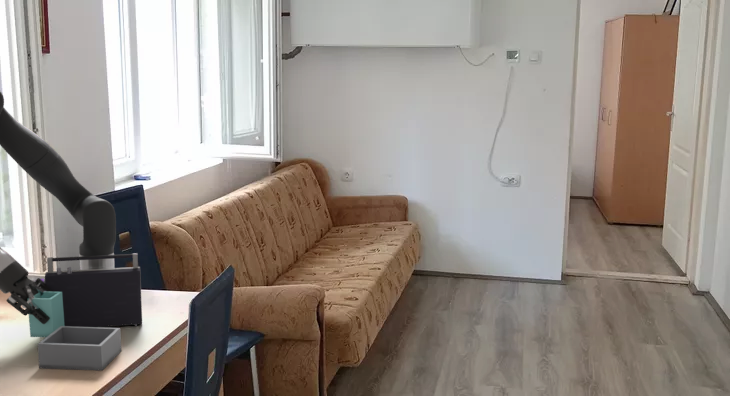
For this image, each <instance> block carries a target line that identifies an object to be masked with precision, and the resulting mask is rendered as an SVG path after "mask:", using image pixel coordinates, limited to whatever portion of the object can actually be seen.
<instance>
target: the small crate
mask: <svg viewBox="0 0 730 396" xmlns="http://www.w3.org/2000/svg"><path fill="white" fill-rule="evenodd" d="M40 294H41V293H40V292H38V293H37V294H36V295H34V297H35V298H34V299H33V302H34V303H35V304H36V305H37V306H38V309H39V308H40V309H41V310H42V311H43V312H44V313H45V314H47V315H48V316H49V317H50V319H49V320H48V321H47V322H46V323H45V324H42V323H41V322H40V321H39V320H38V319H37V318H35V317H34V316H33V315H30V314H28V323H29V324H28V325H29V334H30V338H46V337H47V336H49V335H50V334H51V333H52V332H54V331H55V330H56V329H58V328H59V327H60V326H64V312H63V298H62V292H50V291H44V294H43V295H42V296H41V295H40ZM27 300H29V298H28V299H27ZM29 305H31V303H30V304H29ZM31 306H32V305H31Z"/></svg>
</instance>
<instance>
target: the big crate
mask: <svg viewBox="0 0 730 396" xmlns="http://www.w3.org/2000/svg"><path fill="white" fill-rule="evenodd" d="M121 333H122V332H121V328H120V327H73V326H60V327H59V328H58V329H56V330H55V331H54V332H52V333H51V334H50V335H49V336H47V337H44V338H43V339H42V340H40V341H39V342H38V343H37V353H38V369H51V370H53V369H55V370H77V371H78V370H79V371H80V370H81V371H103V370H104V369H105V368H106V367H107V366H109V364H110V363H111V362H112V361H113V360H114V359H115V358H116V357H117V356H118V355H119V354H120V353H121V352H122V344H121V343H122V341H121V340H122V339H121V338H122V335H121Z"/></svg>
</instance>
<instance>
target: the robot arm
mask: <svg viewBox="0 0 730 396" xmlns="http://www.w3.org/2000/svg"><path fill="white" fill-rule="evenodd" d="M4 105H5V99H4V95H3V93H2V91H1V90H0V147H1V148H2V149H3V150H4V151H5V152H6V153H7V154H8V155H9V157H11V158H12V160H13V161H15V162H16V163H17V165H18V166H19V167H20V168H21V169H22V170H23V171H24V172H26V174H28V176H29V177H30V178H32V179H33V180H34V181H35V182H36V183H38V185H39V186H41V187H42V188H44V189H45V190H46V191H47V192H48V193H49V194H51V195H52V196H53V197H55V198H56V199H57V200H58V201H59V203H61V204H62V206H64V208H65V209H66V211H68V213H69V214H70V215H71V217H72V218H73V219H74V220H75V221H76V223H78V224H79V225H80V226H82V228H83V229H82V231H83V232H82V233H83V236H82V237H83V239H82V242H81V243H79V247H78V251H79V254H78V255H79V257H81V256H101V255H115V253H114V252H115V249H114V248H115V244H116V239H117V218H116V216H117V215H116V211H115V207H114V206H113V204H112V203H111V202H109V201H108V200H106V199H103V198H101V197H98V196H96V195H94V194H93V193H92V192H91V191H89V190H88V189H87V188H86V187H85V186H84V185H83V184H81V183H80V182H79V181H78V179H76V177H75V176H74V175H73V173H72V171H71V169H70V167H69V166H68V164H67V163H66V161H65V160H64V159H63V157H61V155H60V154H59V152H57V151H56V150H55V149H54V148H53V147H52V146H51V145H50V143H48V142H47V141H46V140H45V139H43V138H42V137H40V136H39V135H38V134H37V133H36V132H34V131H33V130H31V129H30V128H28V127H27V126H25V125H24V124H22V123H21V122H19V121H18V120H17V119H16V118H15V117H14V116H13V115H12V114H11V113H9V111H8V110H7V109H6V108H5V107H4ZM108 268H115V258H113V259H93V260H79V270H89V269H108ZM28 276H29V271H28V270H27V269H26V268H25V267H24V266H23V265H22V264H21V263H19V261H17V259H16V258H14V257H13V256H12V255H11V254H10V253H8V252H7V251H6V250H4V249H3V248H2V247H1V246H0V291H1V292H2V293H3V294H6V295H7V294H9V293H10V295H9V296H8V298H7V299H6V300H5V301H6V302H7V304H9V305H10V306H12V307H13V308H14V309H16V310H17V311H18V312H19V313H20V314H22V315H24V316H25V317H26V316H27V315H29V314H30V315H33V316H34V317H35V318H37V319H38V320H39V321H40V322H41V323H42V324H45V323H46V322H47V321H48V320H49V319H50V317H49V316H48V315H47V314H45V313H44V312H43V311H42V310H41V309H40V308H39V309H38V306H37V305H36V304H35V303H34V302H33V299H34V298H35V297H34V295H36V294H37V293H38V292H40V293H41V294H40V295H41V296H42V295H43V294H44V291H50V292H52V291H51V290H50V289H49V288H48V287H47V285H46V284H45V283H44V282H43V281H42V280H41V279H42V278H40V277H37V279H35V280H32V279H30V278H28ZM28 298H29V300H27V299H28ZM30 303H31V305H32V306H31V305H29V304H30Z"/></svg>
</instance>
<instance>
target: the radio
mask: <svg viewBox="0 0 730 396" xmlns="http://www.w3.org/2000/svg"><path fill="white" fill-rule="evenodd" d="M138 257H139V256H138V252H136V253H135V252H134V253H128V254H127V253H126V254H125V253H124V254H123V253H122V254H114V255H101V256H81V257H80V256H65V257H64V256H63V257H51V256H50V257H47V258H46V263H47V264H46V265H47V271H46V272H45V274H44V278H43V279H44V281H43V282H44V283H45V284H46V285H47V287H48V288H49V289H50V290H51V291H52V292H62V298H63V312H64V326H73V327H103V328H107V327H115V326H116V327H119V326H130V325H134V326H135V327H138V325H142V324H143V309H142V308H143V307H142V306H143V305H142V282H141V281H142V279H141V275H142V274H141V266H139V262H138V261H139V260H138ZM113 258H114V259H129V258H131V259H132V267H131V266H129V267H114V268H108V269H89V270H80V269H75V270H74V269H73V270H72V267H71V266H69V267H66V269H67V270H62V268H61V267H57V268H56V271H54V262H69V261H70V262H71V261H80V260H93V259H113Z"/></svg>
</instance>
